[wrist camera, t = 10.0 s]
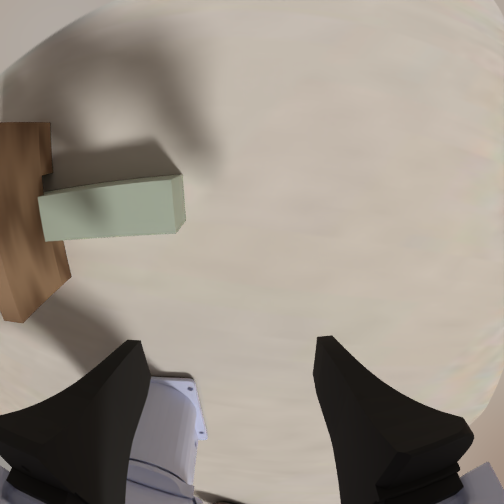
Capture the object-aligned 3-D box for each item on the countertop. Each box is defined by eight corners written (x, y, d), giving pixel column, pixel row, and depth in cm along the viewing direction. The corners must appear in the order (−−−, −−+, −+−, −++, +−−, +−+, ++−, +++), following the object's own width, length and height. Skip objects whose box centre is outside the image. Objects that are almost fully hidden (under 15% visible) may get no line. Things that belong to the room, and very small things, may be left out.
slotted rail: (186, 220, 19) (175, 233, 16) (-23, 238, 19) (-43, 249, 16) (182, 174, 18) (171, 179, 15) (-29, 208, 18) (-50, 217, 15)
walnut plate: (71, 276, 20) (22, 323, 14) (53, 276, 20) (4, 320, 14) (50, 122, 16) (-16, 123, 9) (31, 128, 16) (-33, 132, 9)
